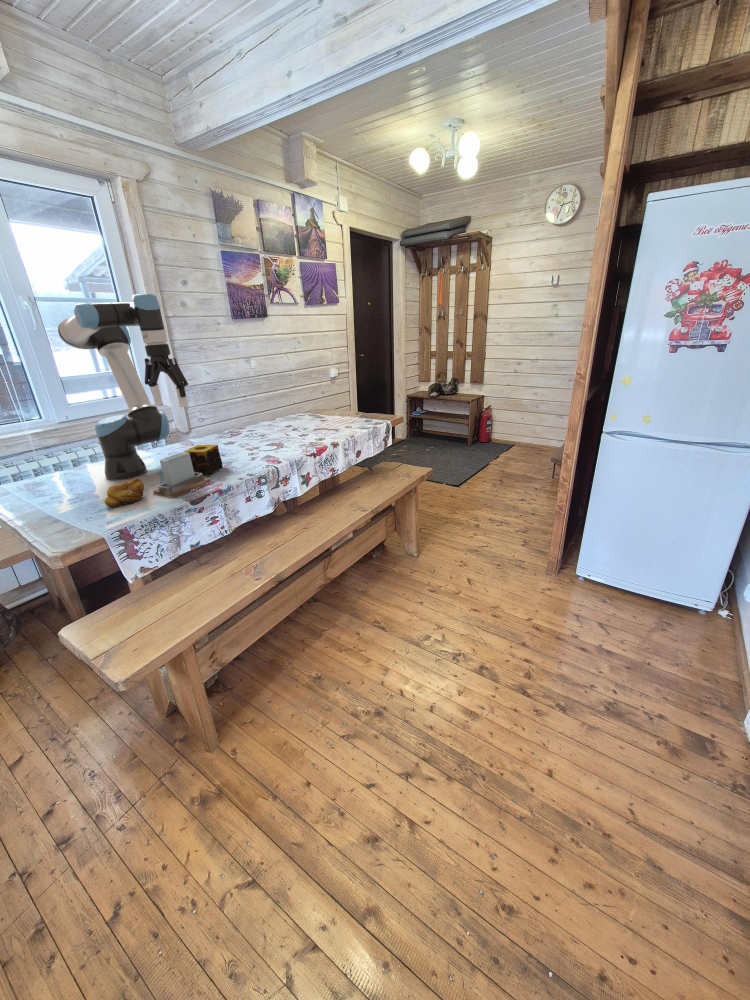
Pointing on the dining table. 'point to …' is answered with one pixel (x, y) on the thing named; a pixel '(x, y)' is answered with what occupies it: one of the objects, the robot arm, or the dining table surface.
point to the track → (182, 486)
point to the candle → (205, 459)
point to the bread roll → (124, 493)
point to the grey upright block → (177, 468)
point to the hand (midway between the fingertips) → (171, 405)
